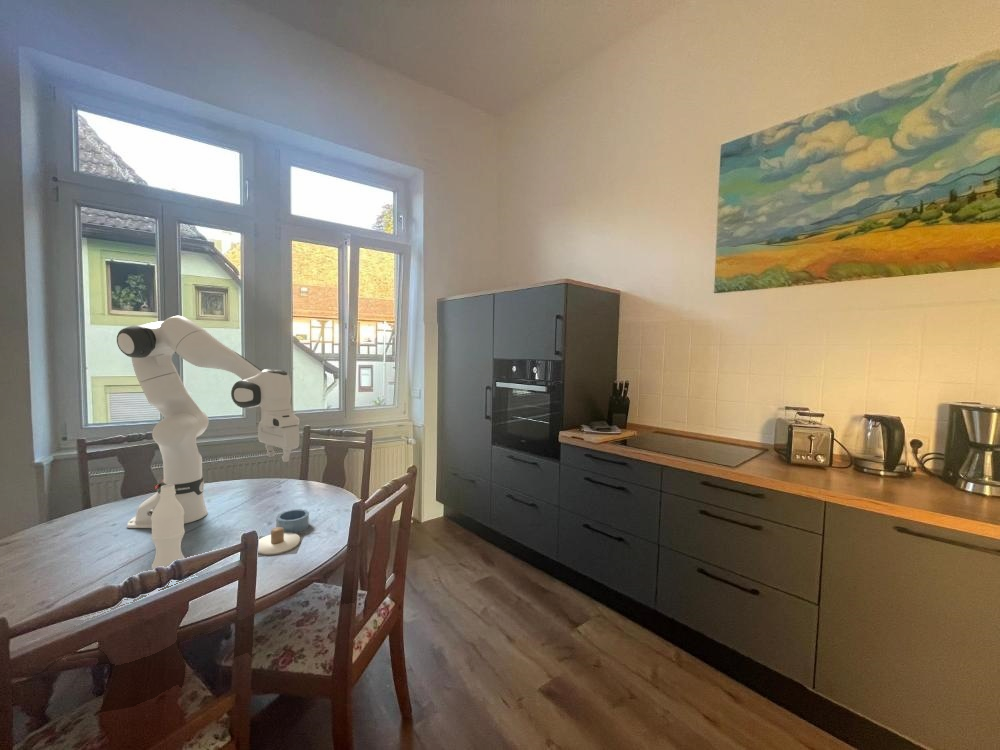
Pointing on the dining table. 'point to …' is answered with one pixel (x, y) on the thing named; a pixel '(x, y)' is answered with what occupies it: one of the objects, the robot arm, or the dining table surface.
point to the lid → (278, 542)
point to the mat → (289, 550)
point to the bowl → (293, 520)
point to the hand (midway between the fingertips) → (278, 458)
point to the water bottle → (167, 527)
